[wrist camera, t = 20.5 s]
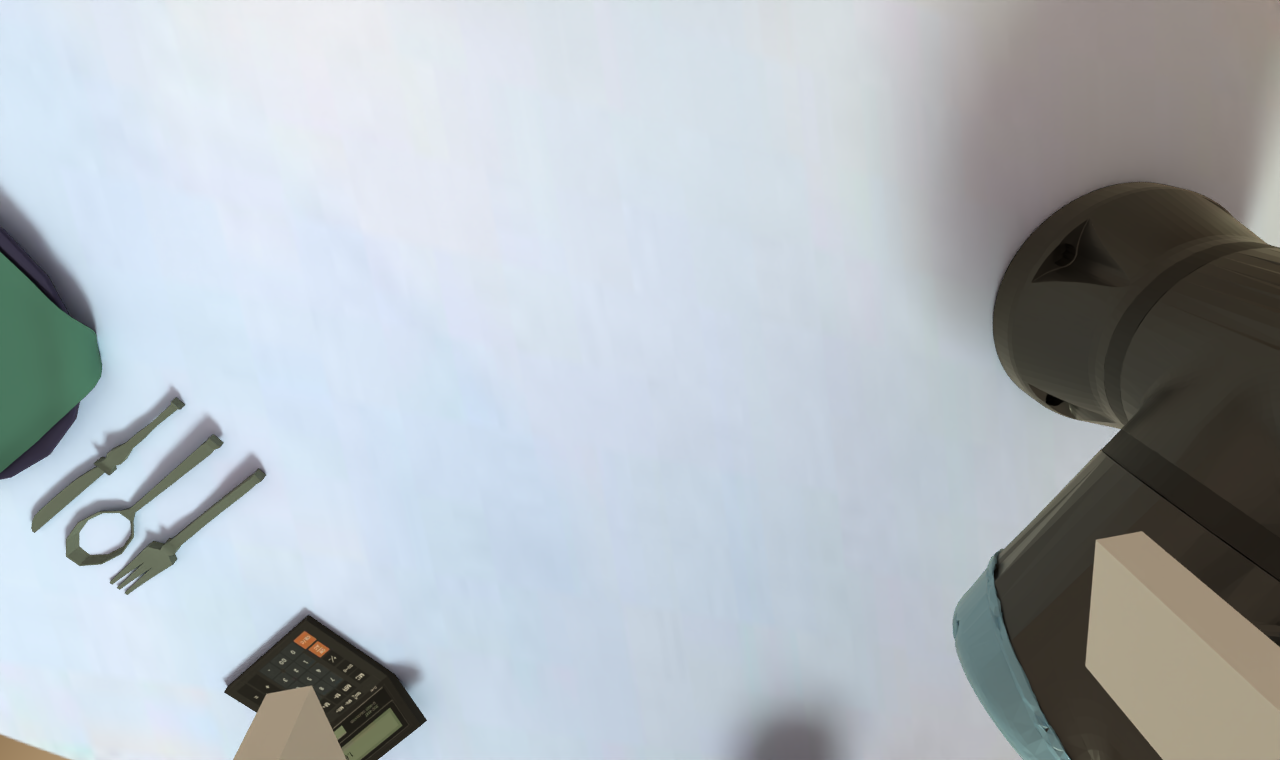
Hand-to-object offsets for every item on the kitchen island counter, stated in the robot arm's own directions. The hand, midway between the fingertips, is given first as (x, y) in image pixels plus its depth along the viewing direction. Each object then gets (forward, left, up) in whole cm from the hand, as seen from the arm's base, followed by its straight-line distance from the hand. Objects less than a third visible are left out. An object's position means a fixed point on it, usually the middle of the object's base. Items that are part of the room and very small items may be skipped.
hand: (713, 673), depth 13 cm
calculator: (+28, +30, -35) cm, 54 cm away
